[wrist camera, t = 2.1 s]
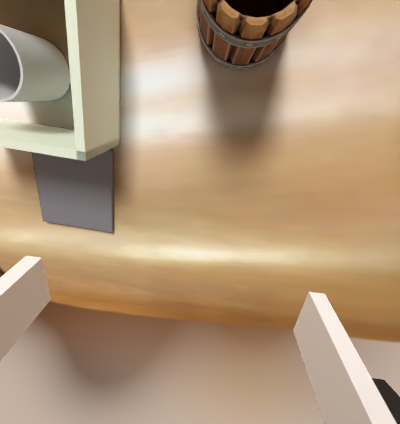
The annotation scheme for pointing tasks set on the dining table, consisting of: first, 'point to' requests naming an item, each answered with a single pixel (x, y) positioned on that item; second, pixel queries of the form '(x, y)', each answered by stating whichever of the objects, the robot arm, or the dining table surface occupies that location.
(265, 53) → the mug
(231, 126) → the dining table surface
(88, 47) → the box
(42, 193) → the mat
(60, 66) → the cup
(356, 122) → the dining table surface
